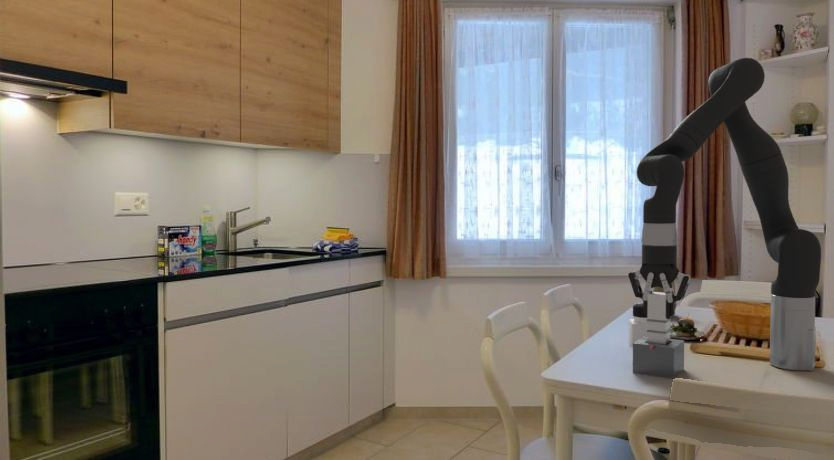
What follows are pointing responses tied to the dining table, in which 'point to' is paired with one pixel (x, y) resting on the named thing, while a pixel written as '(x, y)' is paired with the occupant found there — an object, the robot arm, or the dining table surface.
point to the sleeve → (658, 358)
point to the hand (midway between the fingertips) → (658, 317)
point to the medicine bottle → (637, 324)
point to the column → (658, 319)
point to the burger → (686, 330)
